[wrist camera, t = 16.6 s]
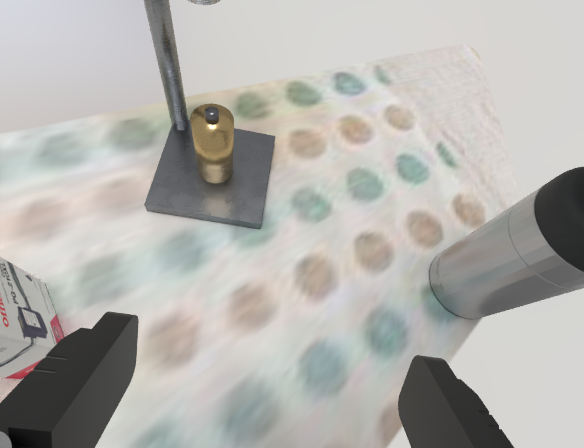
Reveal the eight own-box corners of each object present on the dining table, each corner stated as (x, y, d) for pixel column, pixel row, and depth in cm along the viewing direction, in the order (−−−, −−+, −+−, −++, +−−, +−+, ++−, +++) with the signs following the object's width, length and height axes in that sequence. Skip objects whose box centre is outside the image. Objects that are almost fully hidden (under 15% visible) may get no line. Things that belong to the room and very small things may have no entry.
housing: (235, 157, 45) (237, 99, 36) (229, 185, 43) (229, 132, 34) (201, 151, 45) (194, 91, 36) (194, 179, 43) (184, 123, 34)
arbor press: (275, 137, 50) (334, -209, 21) (260, 229, 43) (316, -98, 14) (171, 118, 48) (81, -282, 20) (139, 209, 42) (-71, -197, 13)
